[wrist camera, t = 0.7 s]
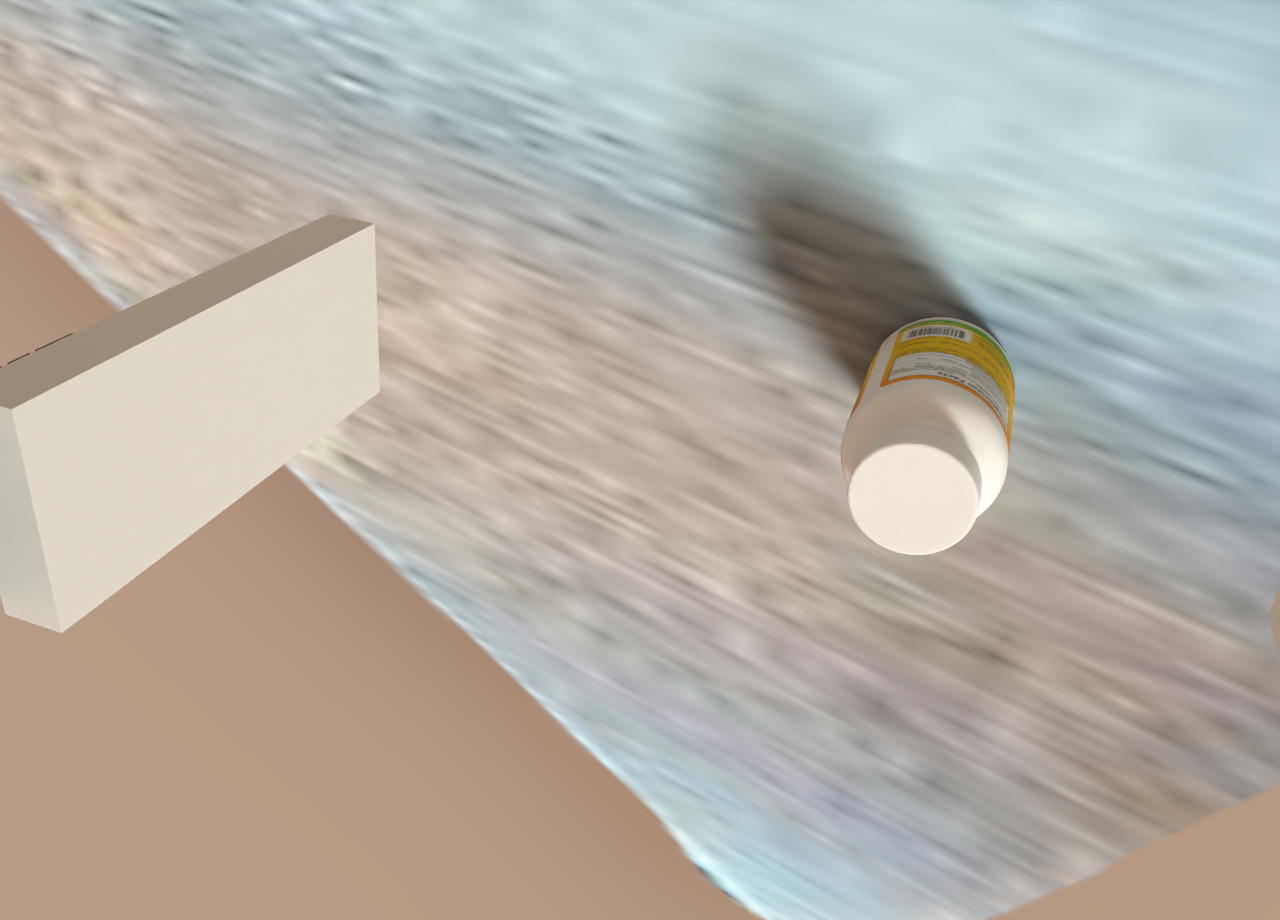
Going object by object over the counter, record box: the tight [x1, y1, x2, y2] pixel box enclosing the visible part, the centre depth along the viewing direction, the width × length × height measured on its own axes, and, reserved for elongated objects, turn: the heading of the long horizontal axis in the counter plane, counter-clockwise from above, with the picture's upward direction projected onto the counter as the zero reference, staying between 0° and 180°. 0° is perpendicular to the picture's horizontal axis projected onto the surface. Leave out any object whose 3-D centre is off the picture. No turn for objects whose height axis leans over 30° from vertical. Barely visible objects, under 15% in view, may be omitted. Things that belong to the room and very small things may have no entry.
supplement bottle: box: [841, 317, 1014, 555], centre depth 38 cm, size 5×5×10 cm
